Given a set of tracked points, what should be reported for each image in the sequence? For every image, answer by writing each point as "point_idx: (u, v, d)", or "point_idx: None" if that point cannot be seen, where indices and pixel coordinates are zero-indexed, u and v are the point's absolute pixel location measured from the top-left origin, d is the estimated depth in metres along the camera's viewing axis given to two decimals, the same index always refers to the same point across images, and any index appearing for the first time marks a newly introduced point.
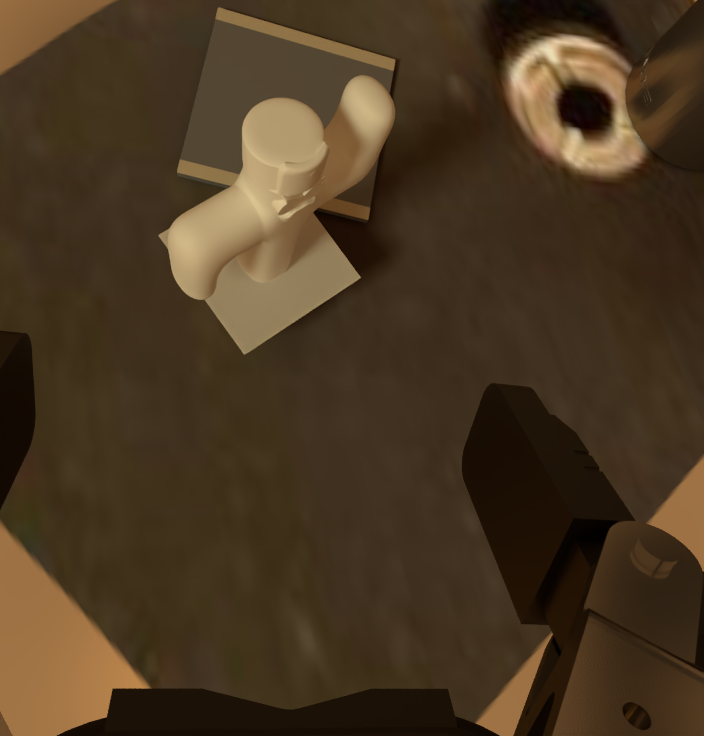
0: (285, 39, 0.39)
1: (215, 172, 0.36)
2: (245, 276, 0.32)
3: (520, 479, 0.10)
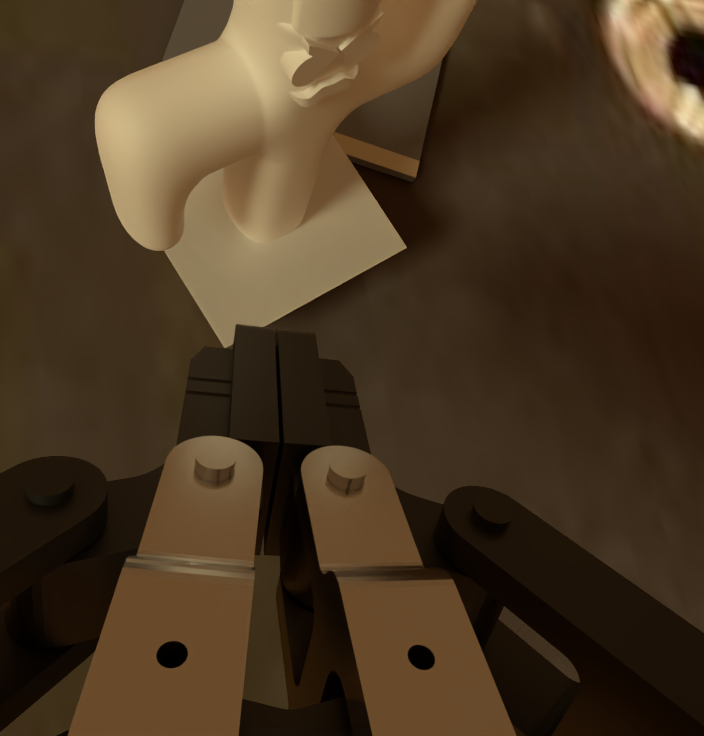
0: None
1: None
2: (235, 231, 0.21)
3: None
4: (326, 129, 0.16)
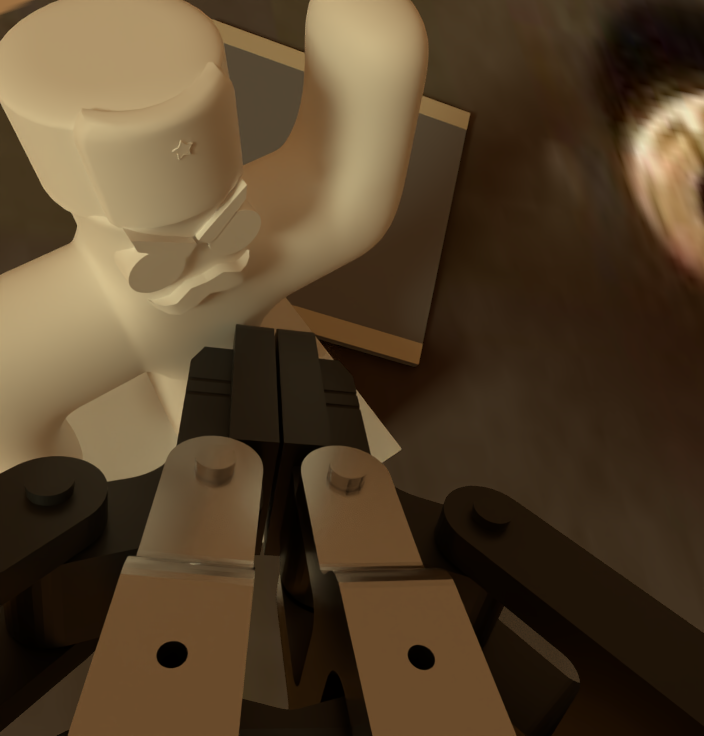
0: None
1: None
2: None
3: None
4: None
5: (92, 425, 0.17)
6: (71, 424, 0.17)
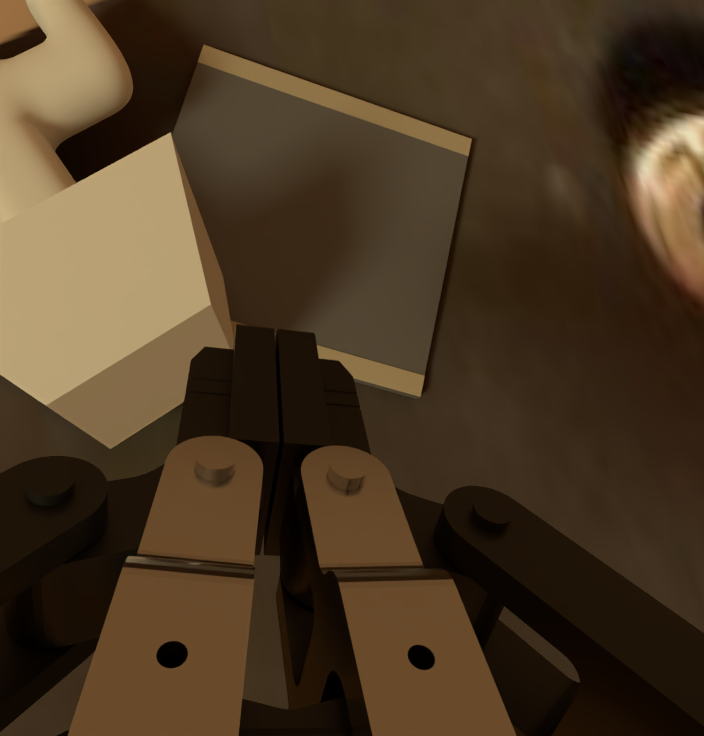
0: (306, 99, 0.25)
1: None
2: None
3: None
4: None
5: None
6: None
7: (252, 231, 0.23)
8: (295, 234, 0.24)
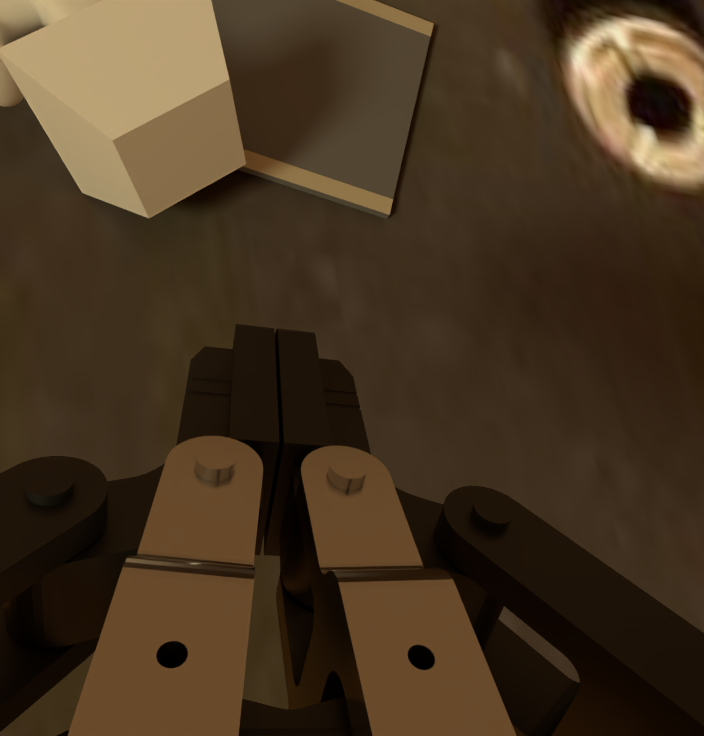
0: None
1: None
2: None
3: None
4: None
5: None
6: None
7: (256, 82, 0.29)
8: (289, 87, 0.30)
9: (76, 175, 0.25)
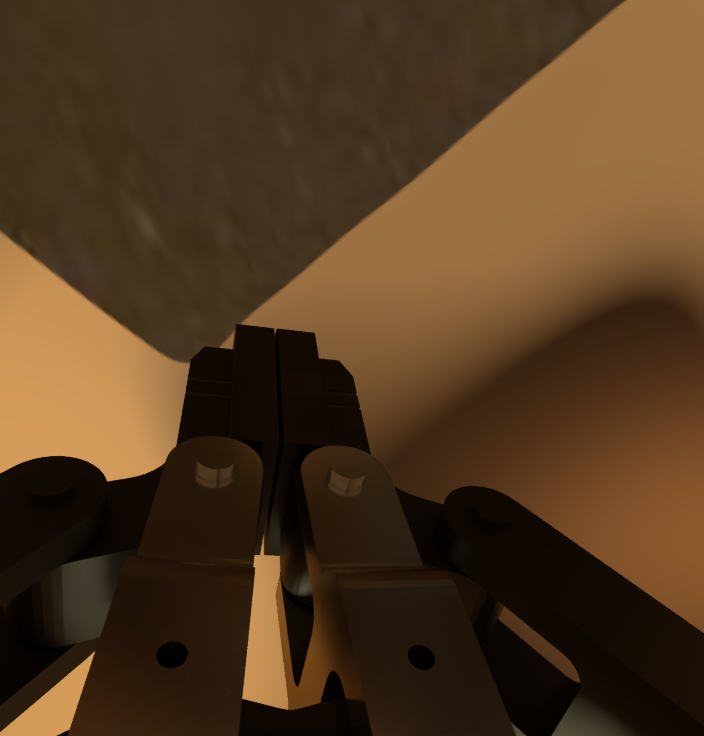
0: None
1: None
2: None
3: None
4: None
5: None
6: None
7: None
8: None
9: None
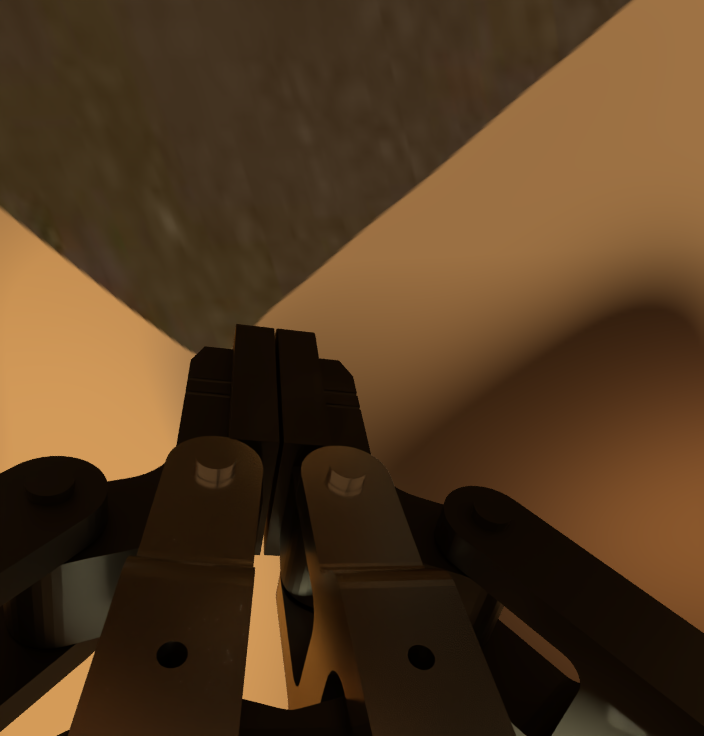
0: None
1: None
2: None
3: None
4: None
5: None
6: None
7: None
8: None
9: None
